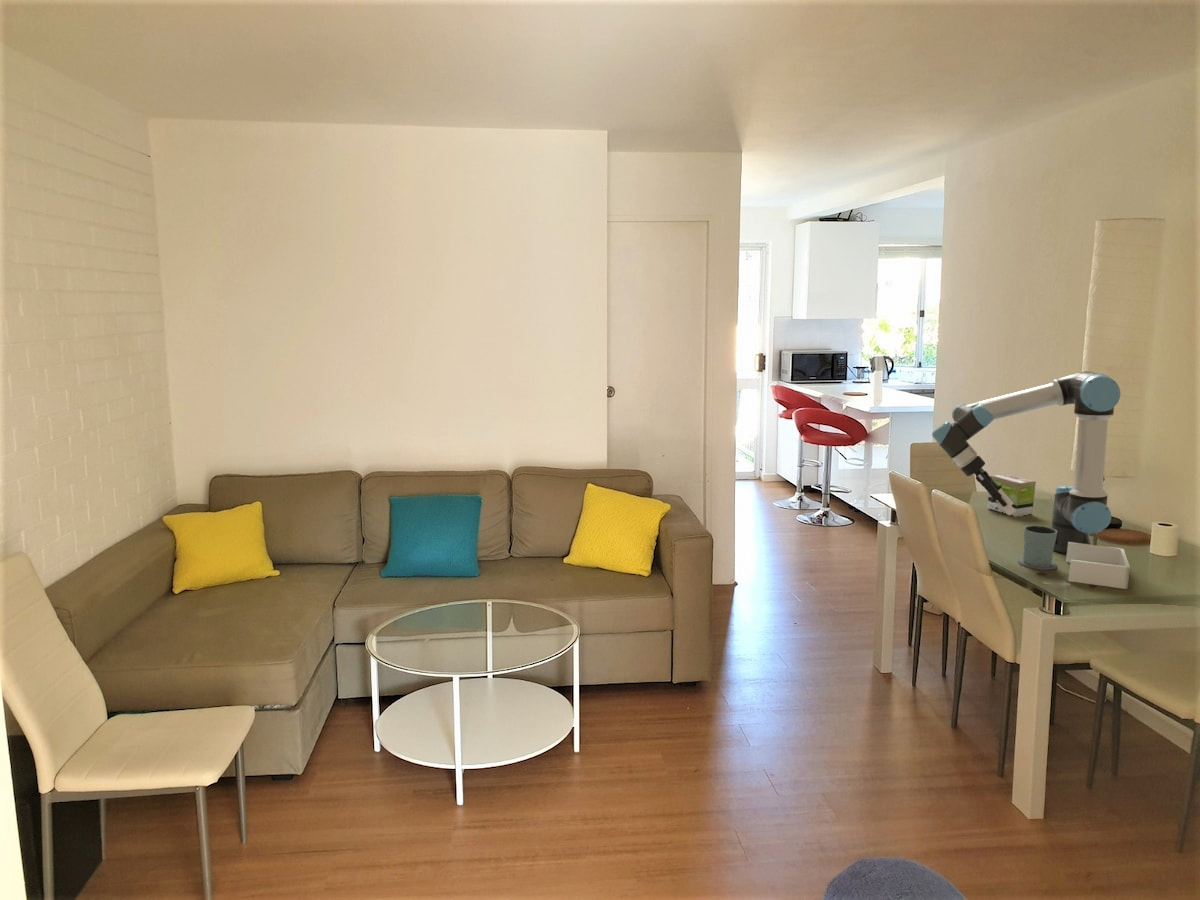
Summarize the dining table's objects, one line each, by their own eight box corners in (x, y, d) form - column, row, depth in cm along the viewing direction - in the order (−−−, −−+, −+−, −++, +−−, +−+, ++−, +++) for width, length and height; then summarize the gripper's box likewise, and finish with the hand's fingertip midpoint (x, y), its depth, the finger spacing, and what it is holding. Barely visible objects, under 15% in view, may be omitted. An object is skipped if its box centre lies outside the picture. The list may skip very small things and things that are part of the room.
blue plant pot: (1046, 559, 303) (1050, 525, 301) (1058, 568, 293) (1062, 533, 291) (1016, 558, 304) (1019, 524, 302) (1027, 567, 294) (1030, 532, 292)
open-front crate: (1065, 561, 303) (1068, 541, 301) (1120, 568, 296) (1123, 548, 294) (1068, 581, 282) (1071, 560, 281) (1127, 589, 275) (1130, 567, 274)
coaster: (1018, 557, 307) (1018, 555, 307) (1056, 562, 302) (1056, 560, 302) (1017, 566, 296) (1017, 565, 296) (1057, 572, 291) (1057, 570, 291)
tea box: (986, 509, 373) (989, 475, 370) (1003, 506, 377) (1006, 473, 375) (1016, 517, 360) (1019, 482, 357) (1033, 515, 364) (1036, 480, 361)
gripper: (960, 463, 316) (1000, 509, 313) (959, 473, 293) (1003, 523, 290) (977, 450, 313) (1018, 496, 310) (978, 459, 290) (1022, 509, 287)
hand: (1011, 509), depth 300 cm, fingers open, 13 cm apart
